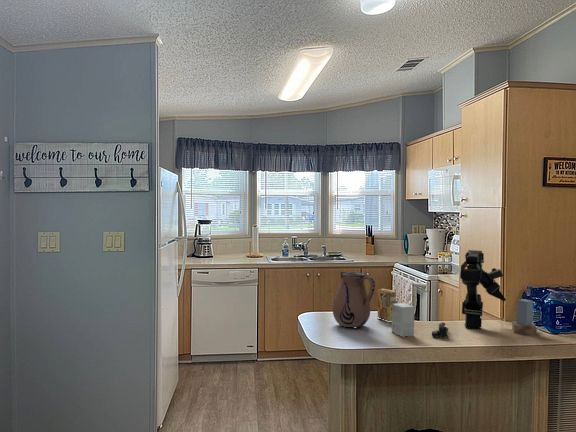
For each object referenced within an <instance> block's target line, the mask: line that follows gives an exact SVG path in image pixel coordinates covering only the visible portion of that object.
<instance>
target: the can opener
mask: <svg viewBox="0 0 576 432" xmlns="http://www.w3.org/2000/svg"><path fill="white" fill-rule="evenodd" d="M448 331H450V330H449V327H446V322H443V321H441V322H440V323H439V324H438V330H433V331H432V332H431V336H432V337H433V338H439V337H440V338H441V337H442V339H444V338H447V337H449V336H448Z"/></svg>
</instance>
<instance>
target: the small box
mask: <svg viewBox="0 0 576 432" xmlns="http://www.w3.org/2000/svg"><path fill="white" fill-rule="evenodd" d="M392 332H394V333H396V334H395V335H397V334H398V335H397V336H399V335H400V336H399V337H401V336H402V337H401V338H406V337H405V336H408V337H414V336H415V306H413V305H411V304H407V303H404V302H402V303H396V304H393V306H392V323H391V333H392ZM394 333H393V334H394Z"/></svg>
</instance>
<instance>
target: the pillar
mask: <svg viewBox="0 0 576 432" xmlns="http://www.w3.org/2000/svg"><path fill="white" fill-rule="evenodd" d="M516 312H517V313H516V321H517V324H521V325H524V326H529V325H532V323H533V317H534V316H533V315H534V314H533V313H534V301H533V300H530V299H525V298H522V299H517V311H516Z"/></svg>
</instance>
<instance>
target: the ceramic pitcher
mask: <svg viewBox="0 0 576 432" xmlns="http://www.w3.org/2000/svg"><path fill="white" fill-rule="evenodd" d="M366 280H368V281H369V283H370V288H369V293H368V292H367V289H366V285H365V281H366ZM339 281H340V282H339V284H338V286H337V290H336V293H335V296H334V300H333V304H332V315H333V317H334V320H335V322H336V323H337V324H338V325H339V326H340V327H342V326H345V327H360V328H362V327H363V326H365V324H366V323H367V322H368V320H369V319H370V315H371V303H370V302H371V300H372V298H373V295H374V293H375V289H376V288H375V287H376V283H375V280H374V278H373V277H372V276H370V275H368V274H367V273H365V272H360V271H359V272H357V271H350V272H346V271H340V280H339ZM345 327H344V328H345Z"/></svg>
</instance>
